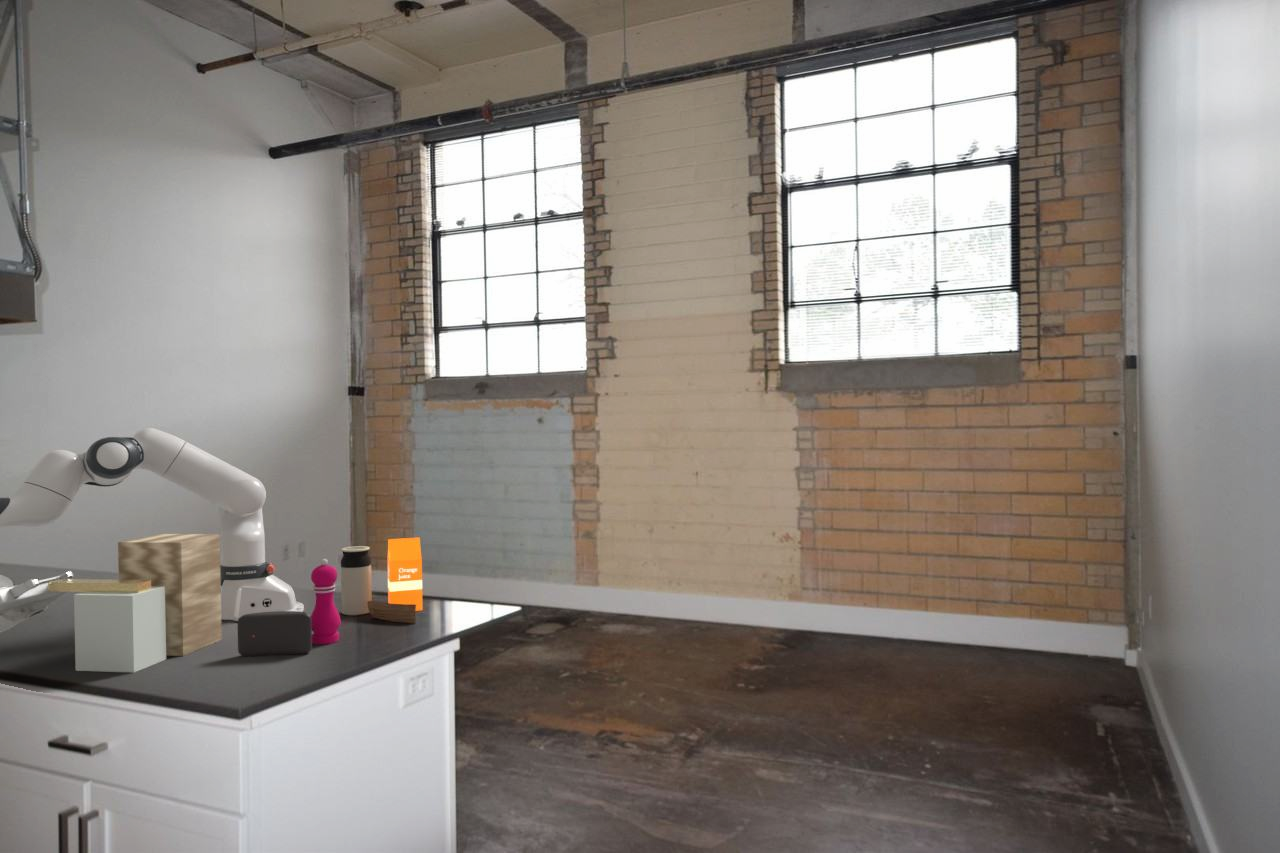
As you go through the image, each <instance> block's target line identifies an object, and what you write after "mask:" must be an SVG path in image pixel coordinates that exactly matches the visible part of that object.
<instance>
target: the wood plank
mask: <svg viewBox="0 0 1280 853" xmlns="http://www.w3.org/2000/svg"><path fill="white" fill-rule="evenodd" d="M368 609H369V613H368V614H370V615H371V616H372V618H374V619H379V620H382V621H386V622H387V621H389V622H395V623H397V622H398V623H404V624H405V623H406V624H414V625H415V624H416V614H417V611H416V604H390V603H388V602H381V601H380V602H379V601H373V600H372V601H368Z"/></svg>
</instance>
